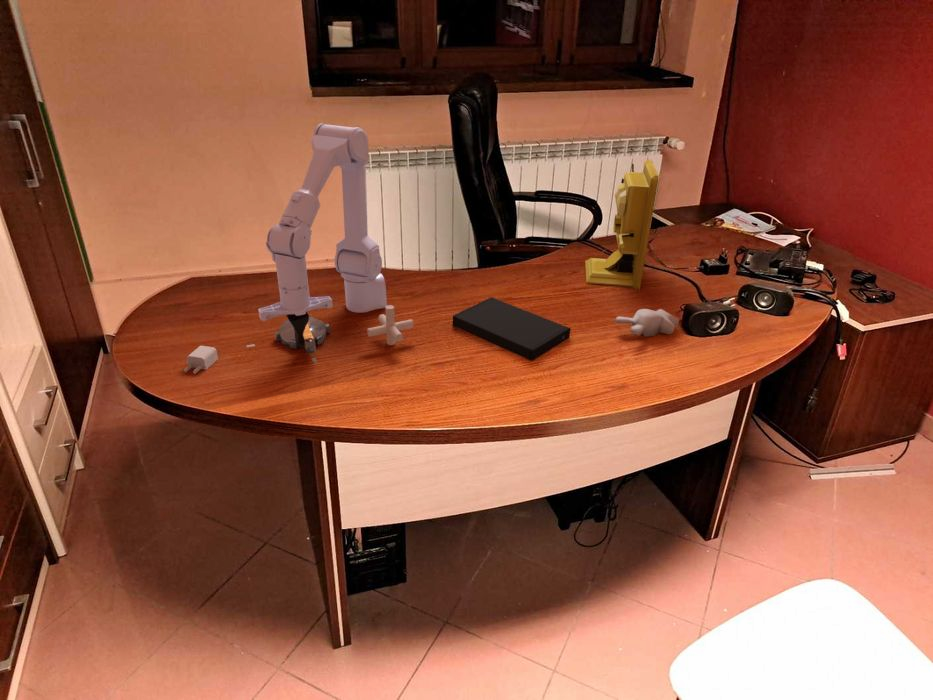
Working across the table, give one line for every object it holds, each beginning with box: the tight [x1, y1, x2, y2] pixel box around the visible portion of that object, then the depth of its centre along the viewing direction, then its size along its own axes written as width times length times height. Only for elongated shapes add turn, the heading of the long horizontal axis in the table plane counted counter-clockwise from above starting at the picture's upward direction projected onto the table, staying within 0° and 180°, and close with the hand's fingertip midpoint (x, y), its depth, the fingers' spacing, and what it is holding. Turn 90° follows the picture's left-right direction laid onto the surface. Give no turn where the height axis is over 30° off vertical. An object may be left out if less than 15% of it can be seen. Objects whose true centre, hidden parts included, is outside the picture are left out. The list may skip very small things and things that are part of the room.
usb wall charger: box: [183, 345, 219, 375], centre depth 131 cm, size 4×7×4 cm, turn 167°
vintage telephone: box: [584, 158, 659, 291], centre depth 173 cm, size 31×14×30 cm, turn 172°
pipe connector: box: [366, 304, 415, 346], centre depth 139 cm, size 10×10×10 cm
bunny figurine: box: [614, 308, 680, 337], centre depth 150 cm, size 10×5×15 cm
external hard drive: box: [452, 296, 571, 362], centre depth 149 cm, size 14×23×3 cm, turn 48°
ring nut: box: [274, 316, 331, 354], centre depth 139 cm, size 17×12×4 cm
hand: (300, 343), depth 135 cm, fingers closed, pressing on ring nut
